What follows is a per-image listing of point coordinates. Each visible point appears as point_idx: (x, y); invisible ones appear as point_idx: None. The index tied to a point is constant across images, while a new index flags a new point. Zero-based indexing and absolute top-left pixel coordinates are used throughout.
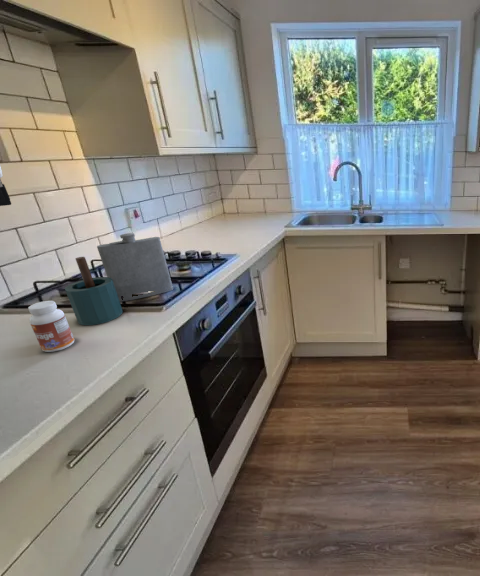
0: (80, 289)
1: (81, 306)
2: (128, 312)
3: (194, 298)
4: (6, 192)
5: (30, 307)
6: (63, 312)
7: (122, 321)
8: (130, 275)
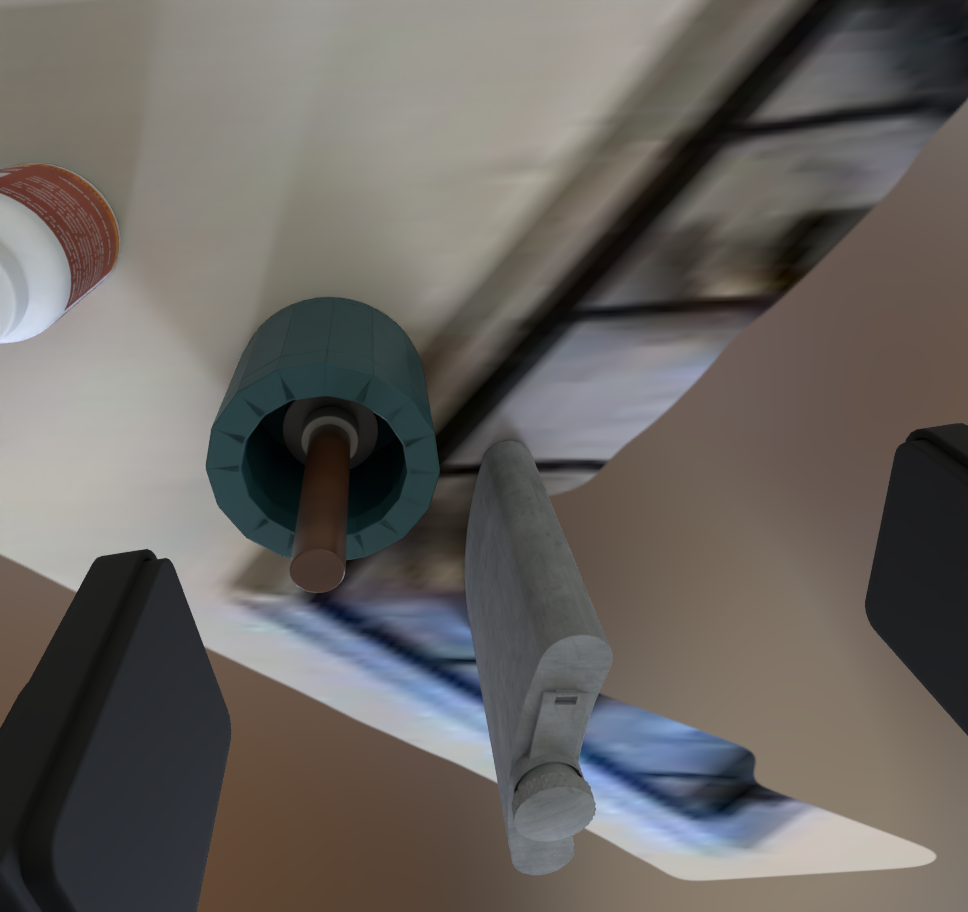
0: (239, 437)
1: (235, 378)
2: None
3: (304, 691)
4: None
5: None
6: (9, 342)
7: None
8: (484, 596)
